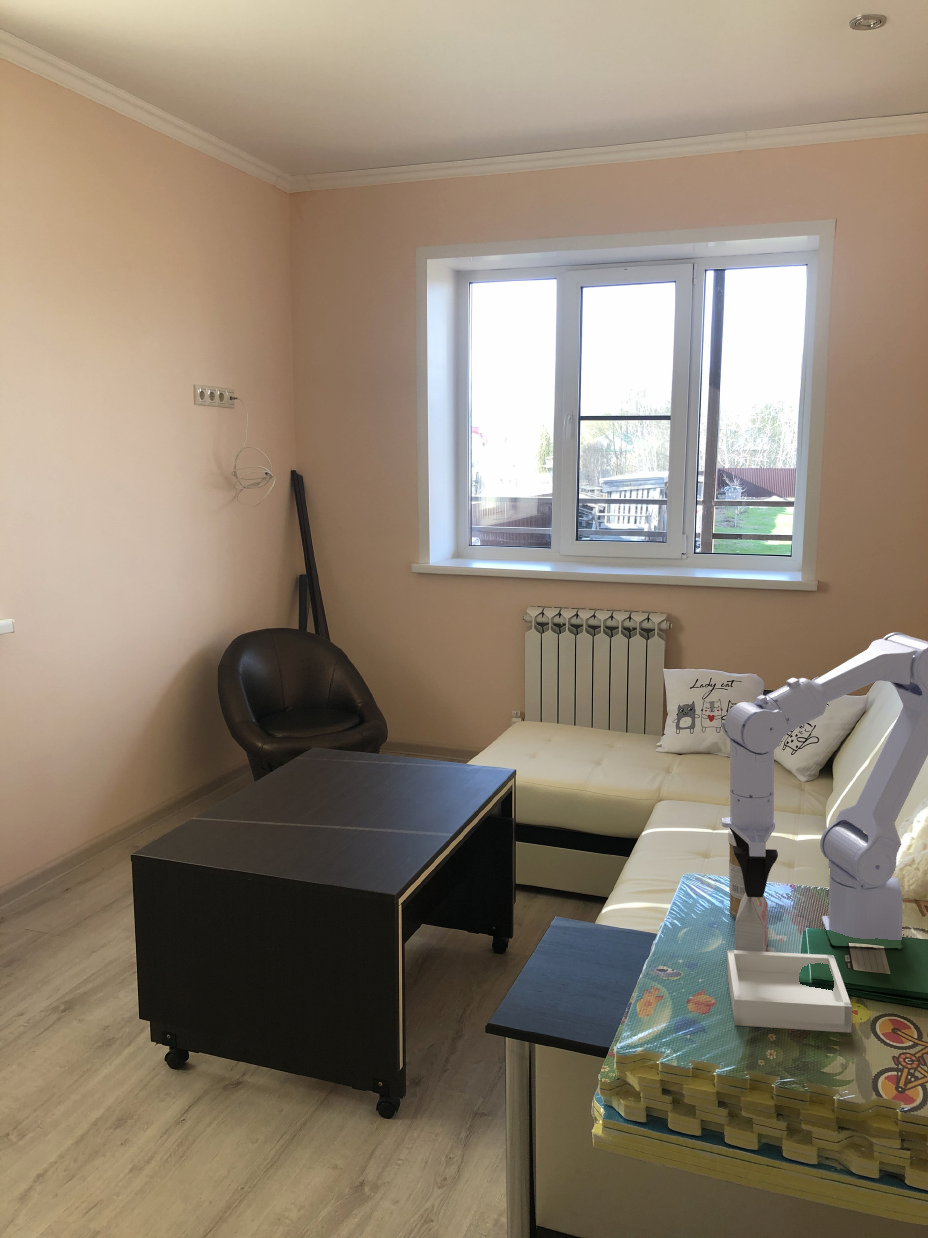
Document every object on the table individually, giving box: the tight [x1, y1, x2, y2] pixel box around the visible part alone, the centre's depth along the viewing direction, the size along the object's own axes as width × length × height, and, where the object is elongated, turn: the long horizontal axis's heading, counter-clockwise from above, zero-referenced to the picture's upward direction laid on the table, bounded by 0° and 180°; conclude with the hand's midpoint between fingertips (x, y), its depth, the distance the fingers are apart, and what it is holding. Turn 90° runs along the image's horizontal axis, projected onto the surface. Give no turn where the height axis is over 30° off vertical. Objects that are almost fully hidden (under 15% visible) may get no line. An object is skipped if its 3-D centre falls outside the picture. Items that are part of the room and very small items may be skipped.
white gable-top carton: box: [734, 892, 769, 952], centre depth 132 cm, size 4×7×10 cm, turn 157°
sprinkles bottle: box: [727, 828, 746, 918], centre depth 143 cm, size 5×5×14 cm
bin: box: [726, 949, 853, 1034], centre depth 121 cm, size 14×12×4 cm
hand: (751, 883), depth 131 cm, fingers open, 7 cm apart
